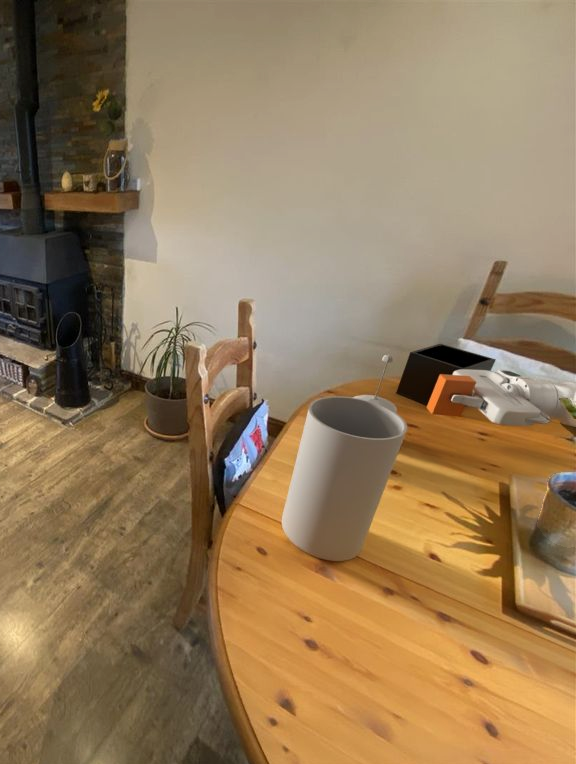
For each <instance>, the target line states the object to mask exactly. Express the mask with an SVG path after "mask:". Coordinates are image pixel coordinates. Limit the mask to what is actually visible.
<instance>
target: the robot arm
mask: <svg viewBox="0 0 576 764" xmlns="http://www.w3.org/2000/svg"><path fill="white" fill-rule="evenodd" d="M452 375H461V376H470V377H471V378H472V379H474V380H475V381H476V384H475V387H474V389H473V391H472V393H471V396H466V395H462V394H461V393H452V394H451V395H450V397H449V399H450V400H451V401H452V402H453V403H461V404H464V405H468V406H467V407H472V408H476V409H477V410H478V411H479V412H481V413H482V414H483V415H484V417H486V418H487V419H488V420H489V421H490V422H491V423H493V424H496V425H499V426H508V427H511V426H512V427H532V426H534V425H536V424H537V425H547V424H549V423H550V422H551V421H552V420H553V421H557V422H560V425H561V427H563V428H564V429H565V430H566V431H568V432H569V433H571V434H572V435H574V436H575V437H576V419H573V418H572V416H571V415H570V414H569V413H568V412H567V411H566V409H565V408H564V406H563V405H562V404H561V403H560V400H559V398H568V399H570V400H571V401H572V403H573V404H575V405H576V381H562V382H555V381H552V380H549V379H548V380H547V379H535V378H533V377H529V376H523V375H521V374H519V373H516V372H513V371H511V370H508V369H497V371H492V370H491V371H488V370H468V369H461V370H456V371H454V372H453V374H452Z"/></svg>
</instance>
